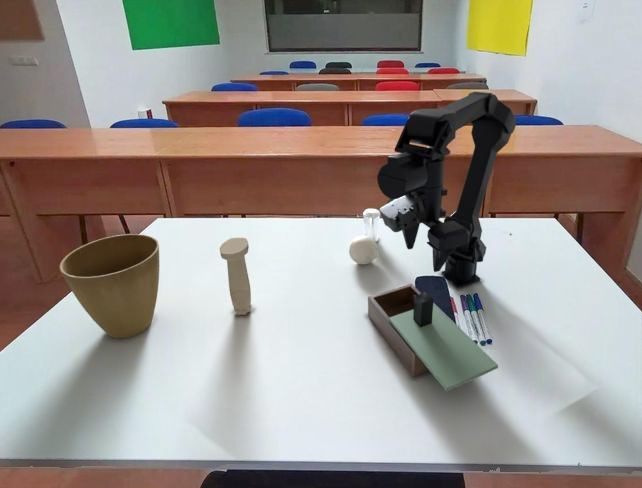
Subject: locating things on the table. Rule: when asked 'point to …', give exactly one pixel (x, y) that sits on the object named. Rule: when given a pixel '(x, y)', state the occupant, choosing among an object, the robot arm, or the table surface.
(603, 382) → the table surface
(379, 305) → the brown wooden box
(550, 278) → the table surface
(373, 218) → the milkshake
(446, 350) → the sliding door
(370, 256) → the cream round ball
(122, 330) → the plant pot
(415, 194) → the robot arm
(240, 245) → the handle
